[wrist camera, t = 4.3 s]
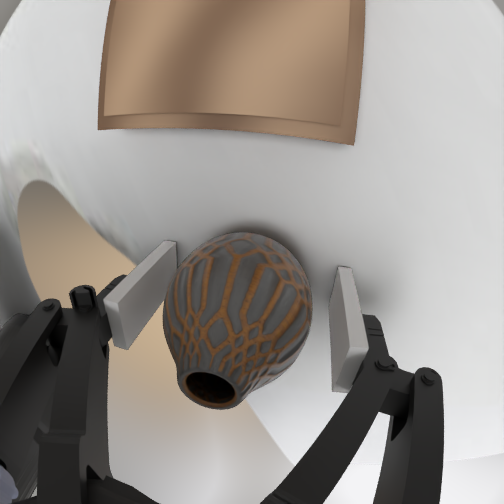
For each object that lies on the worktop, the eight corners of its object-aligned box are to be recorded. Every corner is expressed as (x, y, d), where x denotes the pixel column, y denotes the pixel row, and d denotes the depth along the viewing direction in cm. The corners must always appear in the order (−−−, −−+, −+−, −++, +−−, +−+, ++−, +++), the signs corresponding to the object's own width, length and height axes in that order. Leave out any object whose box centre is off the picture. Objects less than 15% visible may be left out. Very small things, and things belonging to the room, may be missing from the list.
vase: (173, 252, 18) (90, 346, 10) (270, 192, 15) (229, 273, 8) (237, 335, 20) (200, 447, 12) (333, 293, 17) (341, 419, 9)
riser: (124, 126, 15) (93, 130, 12) (147, -48, 10) (123, -66, 7) (345, 141, 14) (355, 146, 11) (356, -53, 8) (363, -80, 6)
